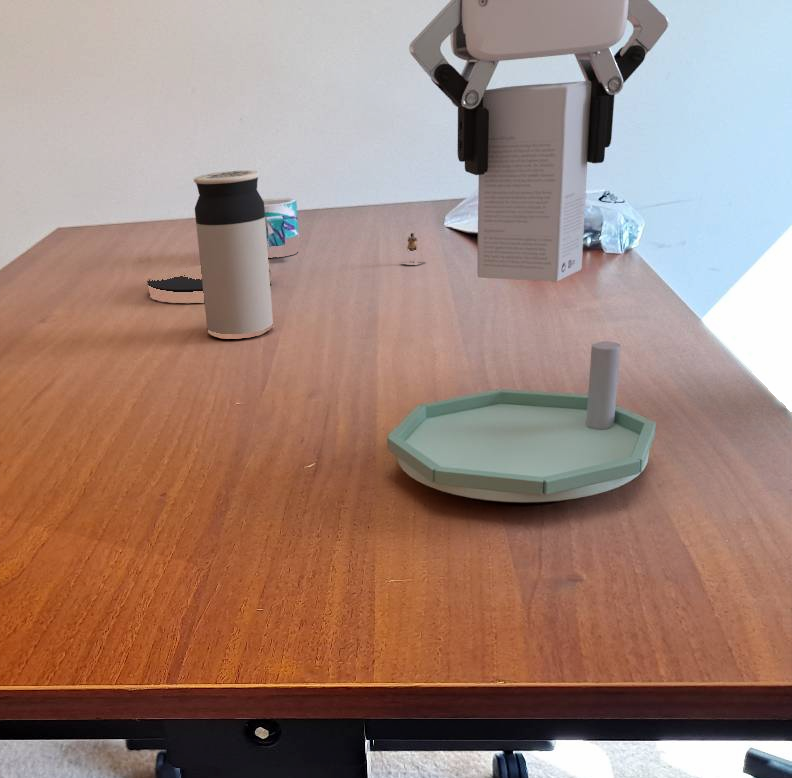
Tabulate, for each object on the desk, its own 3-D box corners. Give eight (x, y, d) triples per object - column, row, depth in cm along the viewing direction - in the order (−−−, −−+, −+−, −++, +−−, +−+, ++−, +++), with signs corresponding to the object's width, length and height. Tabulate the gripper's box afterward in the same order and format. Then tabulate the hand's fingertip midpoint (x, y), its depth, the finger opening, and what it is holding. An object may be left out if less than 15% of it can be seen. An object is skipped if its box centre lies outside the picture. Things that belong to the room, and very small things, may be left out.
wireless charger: (294, 278, 143) (293, 264, 142) (223, 307, 130) (222, 292, 129) (198, 273, 152) (196, 260, 151) (123, 300, 140) (121, 286, 139)
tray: (705, 469, 67) (718, 371, 64) (471, 523, 62) (473, 420, 59) (553, 398, 82) (558, 316, 79) (358, 437, 78) (355, 352, 75)
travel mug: (285, 326, 118) (275, 169, 110) (250, 343, 113) (235, 179, 105) (232, 322, 122) (218, 170, 115) (194, 338, 117) (177, 180, 109)
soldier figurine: (421, 263, 145) (421, 232, 143) (416, 264, 144) (416, 234, 142) (410, 262, 147) (409, 231, 145) (405, 263, 146) (404, 233, 144)
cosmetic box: (583, 270, 67) (595, 79, 62) (556, 284, 64) (567, 85, 59) (502, 266, 71) (507, 85, 66) (473, 278, 68) (477, 90, 63)
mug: (297, 247, 165) (294, 196, 162) (304, 260, 155) (301, 205, 151) (249, 252, 165) (244, 200, 162) (253, 265, 155) (248, 210, 151)
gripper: (664, -159, 60) (638, 149, 68) (385, -133, 60) (391, 174, 68) (725, -187, 53) (688, 159, 61) (411, -158, 53) (415, 186, 61)
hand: (532, 164), depth 64 cm, fingers closed on cosmetic box, 7 cm apart
